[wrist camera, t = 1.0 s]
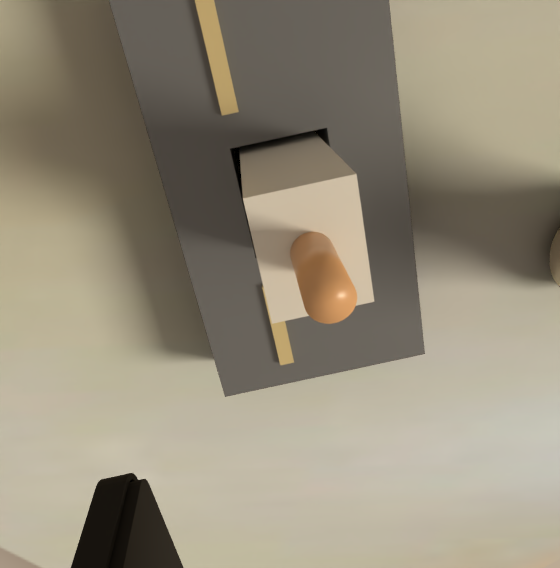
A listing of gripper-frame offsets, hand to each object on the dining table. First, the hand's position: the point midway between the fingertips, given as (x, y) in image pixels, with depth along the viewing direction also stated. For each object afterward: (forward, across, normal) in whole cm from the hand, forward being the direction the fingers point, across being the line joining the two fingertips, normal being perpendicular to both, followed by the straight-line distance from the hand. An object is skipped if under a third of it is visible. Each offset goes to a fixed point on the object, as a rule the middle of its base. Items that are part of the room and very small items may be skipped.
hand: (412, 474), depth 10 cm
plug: (+23, 0, 0) cm, 23 cm away
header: (+23, 0, 0) cm, 23 cm away
